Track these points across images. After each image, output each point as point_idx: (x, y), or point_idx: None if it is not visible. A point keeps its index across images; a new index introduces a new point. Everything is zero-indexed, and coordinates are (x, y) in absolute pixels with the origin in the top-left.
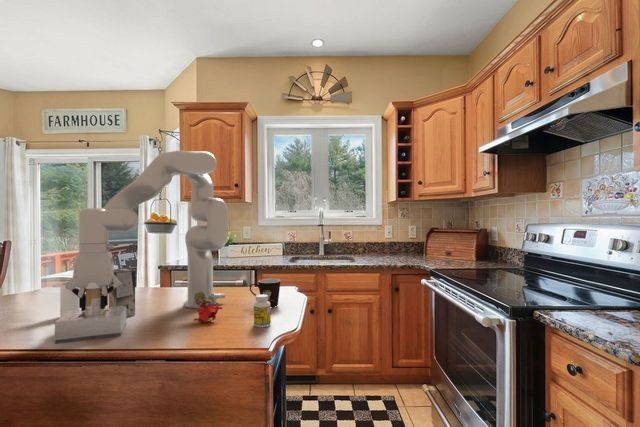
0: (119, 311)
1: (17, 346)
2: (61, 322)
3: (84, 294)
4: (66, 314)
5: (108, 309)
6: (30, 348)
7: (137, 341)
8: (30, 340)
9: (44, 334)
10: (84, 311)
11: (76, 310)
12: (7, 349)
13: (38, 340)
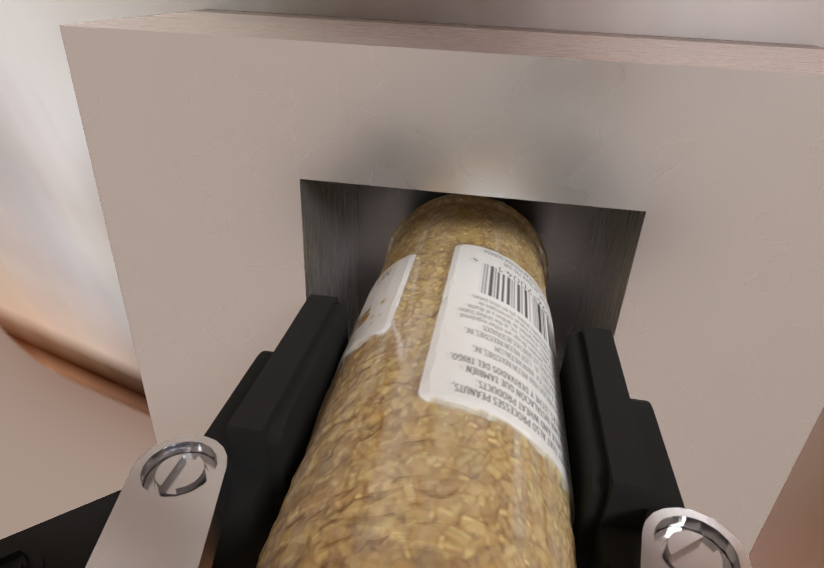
0: (769, 407)
1: (28, 293)
2: None
3: (245, 545)
4: (138, 234)
5: (643, 209)
6: (135, 370)
7: (768, 559)
8: (32, 192)
9: (48, 56)
10: (315, 177)
11: (177, 48)
12: (4, 323)
13: (94, 221)
